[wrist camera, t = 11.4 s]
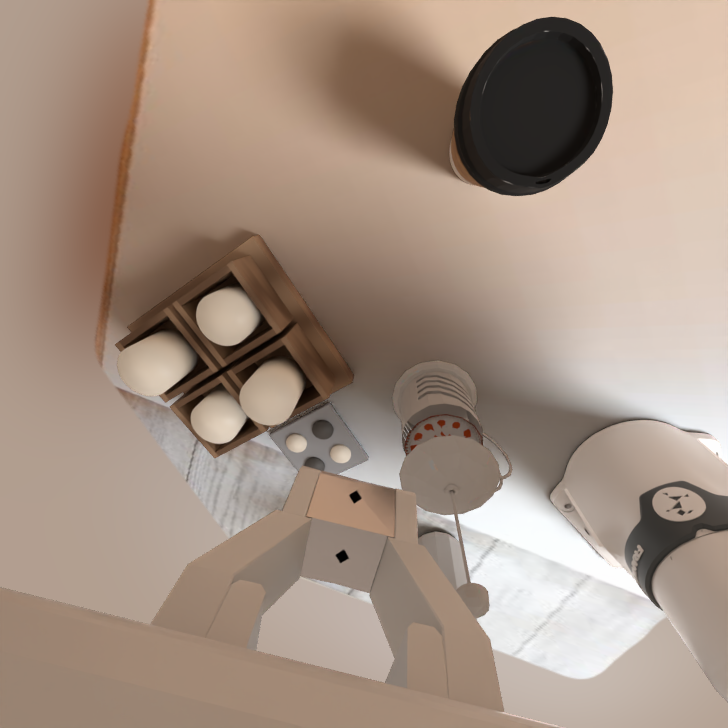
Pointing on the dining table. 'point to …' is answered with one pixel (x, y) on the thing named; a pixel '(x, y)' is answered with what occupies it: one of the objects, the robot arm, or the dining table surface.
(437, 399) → the french press
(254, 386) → the button
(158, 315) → the button board
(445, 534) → the water bottle
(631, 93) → the dining table surface
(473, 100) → the coffee cup
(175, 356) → the button
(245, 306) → the button
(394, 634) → the robot arm
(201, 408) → the button
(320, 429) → the pattern card
